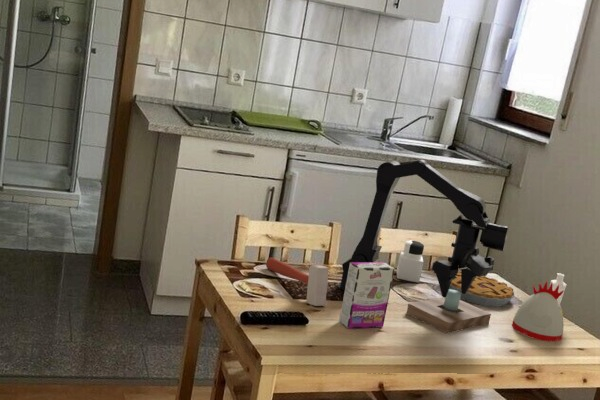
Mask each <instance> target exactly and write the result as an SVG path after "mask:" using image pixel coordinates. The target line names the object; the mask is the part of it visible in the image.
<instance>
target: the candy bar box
mask: <svg viewBox="0 0 600 400" xmlns="http://www.w3.org/2000/svg"><path fill="white" fill-rule="evenodd" d="M394 273H395V267H393V266H392V265H390V264H389V263H387V262H382V261H381V262H377V261H375V262H350V265H349V270H348V276H347V281H346V287H345V291H343V292H344V294H343V299H342V302H341V303H342V304H341V308H340V315H339V320H338V322H340V324H341V325H343V326H344V327H345V328H346V329H350V330H351V329H370V328H371V329H372V328H373V329H374V328H384V325H385V321H386V320H385V319H386V314H387V308H388V304H389V299H390V293H391V289H392V283H393V278H394V275H395V274H394Z"/></svg>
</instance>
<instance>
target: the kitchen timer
mask: <svg viewBox="0 0 600 400" xmlns="http://www.w3.org/2000/svg"><path fill="white" fill-rule="evenodd" d="M552 286H553V284H552V283H551V285H550V284H549V288H548V280H546V281H545V283H544V285H543V287H542V285H541V282H539V284H538V290H537V289H536V286H535V285H533V286H532V288H533V289H532V290H533V294H531V295H530V296H527V298H526V299H524V301H523V302H522V303H521V305H520V306H519V308H518V309H517V311H516V313H515V314H514V317H513V320H512V324H511V326H512V327H513V329H514V330H515V329H516V332H518V333H520V334H523V335H524V336H527V337H529V338H532V339H535V340H539V341H544V342H559V341H561V340H562V338H563V335H564V315H565V313H564V311H563V309H562V306H561V303H560V304H559V302H558V301H557V298H558V297H559V296H560V295H561V294H562V293H563V291H564V290H563V291H561V292H558V289H559V285H558V286H557V287H556V289H555V290H554V291H553V290H552ZM564 292H565V291H564Z"/></svg>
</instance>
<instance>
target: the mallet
mask: <svg viewBox="0 0 600 400" xmlns="http://www.w3.org/2000/svg"><path fill="white" fill-rule="evenodd" d="M265 267H266V268H267V269H268V270H269V269H270V270H269V271H271V270H272V271H271V272H273V271H274V272H273V273H276V274H278V275H281V276H283V277H285V278H288V279H292V280H295V281H299V282H302V283H304V284H305V285H306V286H307V291H306V302H307V303H308V304H309V305H310V306H313V307H323V306H324V307H325V306H326V303H327V294H328V284H329V267H327V266H326V265H318V264H317V265H316V264H314V265H313V264H311V265H310V266H309V271H308V274H306V273H304V272H302V271H301V270H298V269H296V268H295V267H293V266H291V265H289V264H287V263H284V262H283V261H281V260H278V259H277V258H274V257H269V258H268V259H267V260H266V263H265Z"/></svg>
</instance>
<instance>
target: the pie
mask: <svg viewBox="0 0 600 400" xmlns="http://www.w3.org/2000/svg"><path fill="white" fill-rule="evenodd" d="M456 277H457V278H455V279H454V280H452V281H451V284H450V288H449V289H452V290H456V291H459V292H461V297H460V300H463V301H465V302H466V301H467V302H469V303H472V304H475V305H476V304H477V305H480V306H484V307H485V306H486V307H492V308H493V307H494V308H495V307H503V306H505V305H507V304H508V303H509V302H510V301H511V300H512V299H513V298H515V297H516V295H515V291H514V288H512V287H511V286H508V284H507V283H505V282H501V281H498V279H496V278H491V277H487V275H486V276H481V277H478V276H477V277H476V278H475V279H474V281H473V282H472V284H471V285H470V287H469V289H468V290H467V292H466V294H463V293H462V291H461V270H460V271H459V270H458V273H457V275H456Z"/></svg>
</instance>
